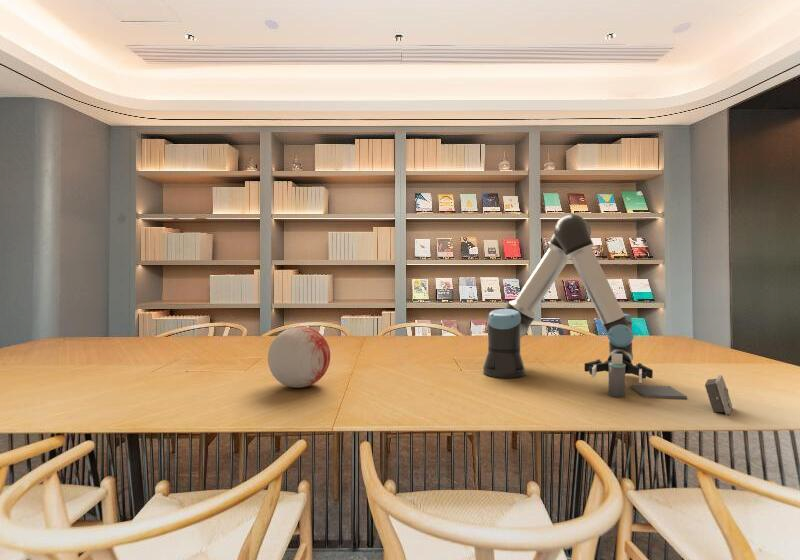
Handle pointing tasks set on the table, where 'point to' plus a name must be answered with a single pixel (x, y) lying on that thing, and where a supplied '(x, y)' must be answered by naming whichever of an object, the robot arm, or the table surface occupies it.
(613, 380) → the trash can
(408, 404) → the table surface
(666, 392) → the pad
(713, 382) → the electrical switch
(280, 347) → the decorative orb
